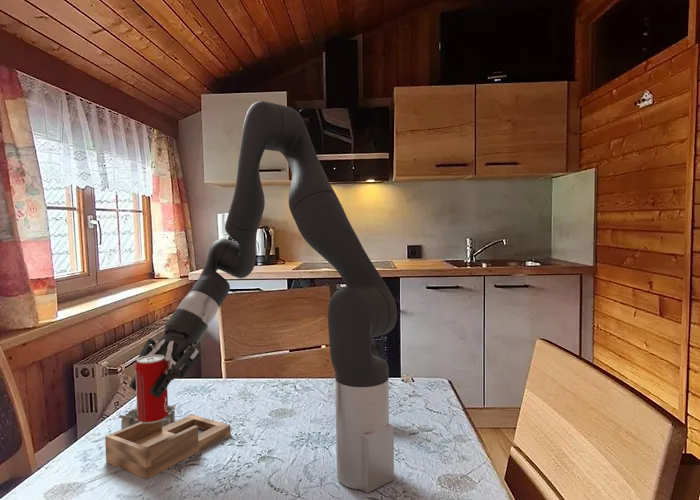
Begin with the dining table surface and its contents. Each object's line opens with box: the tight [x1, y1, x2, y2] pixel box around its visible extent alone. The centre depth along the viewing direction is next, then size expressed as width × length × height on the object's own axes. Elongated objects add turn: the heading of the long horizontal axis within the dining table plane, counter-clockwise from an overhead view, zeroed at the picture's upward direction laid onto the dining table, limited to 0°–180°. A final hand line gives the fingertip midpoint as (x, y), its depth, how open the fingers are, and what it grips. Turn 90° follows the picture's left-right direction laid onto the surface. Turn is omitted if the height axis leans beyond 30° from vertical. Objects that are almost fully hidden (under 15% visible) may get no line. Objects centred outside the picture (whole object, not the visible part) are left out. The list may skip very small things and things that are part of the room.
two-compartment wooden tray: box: [104, 414, 232, 480], centre depth 93 cm, size 12×20×5 cm, turn 149°
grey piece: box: [118, 403, 177, 430], centre depth 104 cm, size 11×8×4 cm
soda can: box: [134, 355, 169, 424], centre depth 89 cm, size 6×6×12 cm
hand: (143, 392), depth 87 cm, fingers closed on soda can, 5 cm apart
